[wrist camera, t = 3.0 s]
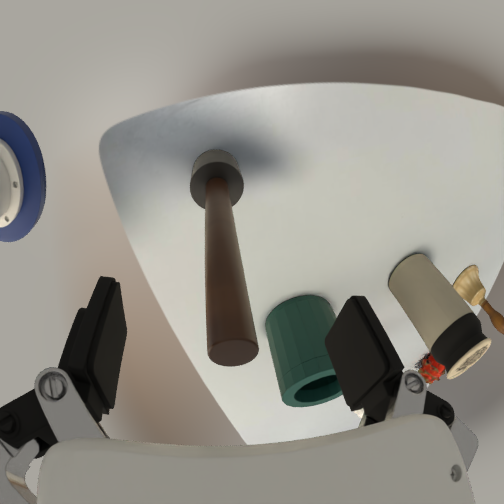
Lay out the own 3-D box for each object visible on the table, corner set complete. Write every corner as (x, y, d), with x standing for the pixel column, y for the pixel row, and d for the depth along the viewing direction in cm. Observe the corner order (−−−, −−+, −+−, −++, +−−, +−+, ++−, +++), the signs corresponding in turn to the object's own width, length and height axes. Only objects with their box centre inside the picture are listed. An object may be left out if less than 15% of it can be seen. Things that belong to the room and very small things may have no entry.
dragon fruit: (412, 367, 65) (429, 337, 60) (435, 372, 62) (453, 343, 56) (411, 387, 58) (430, 358, 53) (435, 393, 55) (456, 364, 49)
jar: (258, 341, 41) (272, 410, 31) (275, 293, 36) (298, 371, 26) (317, 340, 43) (339, 401, 34) (341, 296, 38) (375, 362, 28)
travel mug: (401, 251, 35) (475, 345, 20) (434, 253, 36) (501, 334, 22) (380, 293, 39) (435, 387, 25) (413, 291, 41) (467, 372, 26)
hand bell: (455, 273, 41) (503, 332, 28) (480, 259, 40) (526, 311, 27) (447, 301, 46) (486, 357, 33) (471, 287, 45) (510, 337, 32)
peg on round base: (190, 189, 26) (171, 381, 10) (196, 146, 24) (169, 306, 7) (234, 194, 27) (276, 382, 11) (242, 153, 25) (313, 313, 8)
